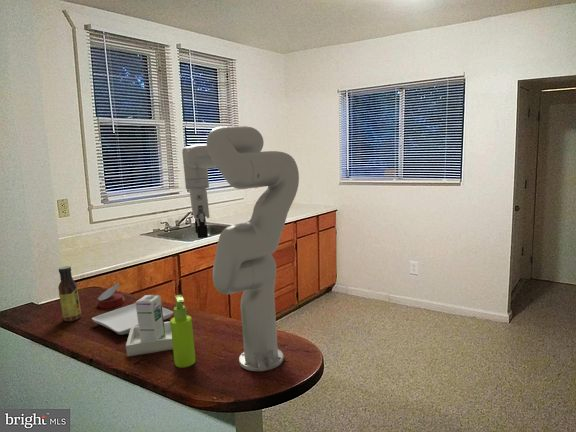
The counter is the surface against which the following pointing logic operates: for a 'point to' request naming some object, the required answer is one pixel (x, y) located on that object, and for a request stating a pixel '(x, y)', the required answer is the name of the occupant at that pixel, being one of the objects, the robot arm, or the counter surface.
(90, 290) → the counter surface
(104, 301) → the canned food
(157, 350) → the tray
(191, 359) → the soap dispenser
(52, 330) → the counter surface
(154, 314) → the syrup box
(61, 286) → the sauce bottle
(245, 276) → the robot arm
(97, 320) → the salad plate
